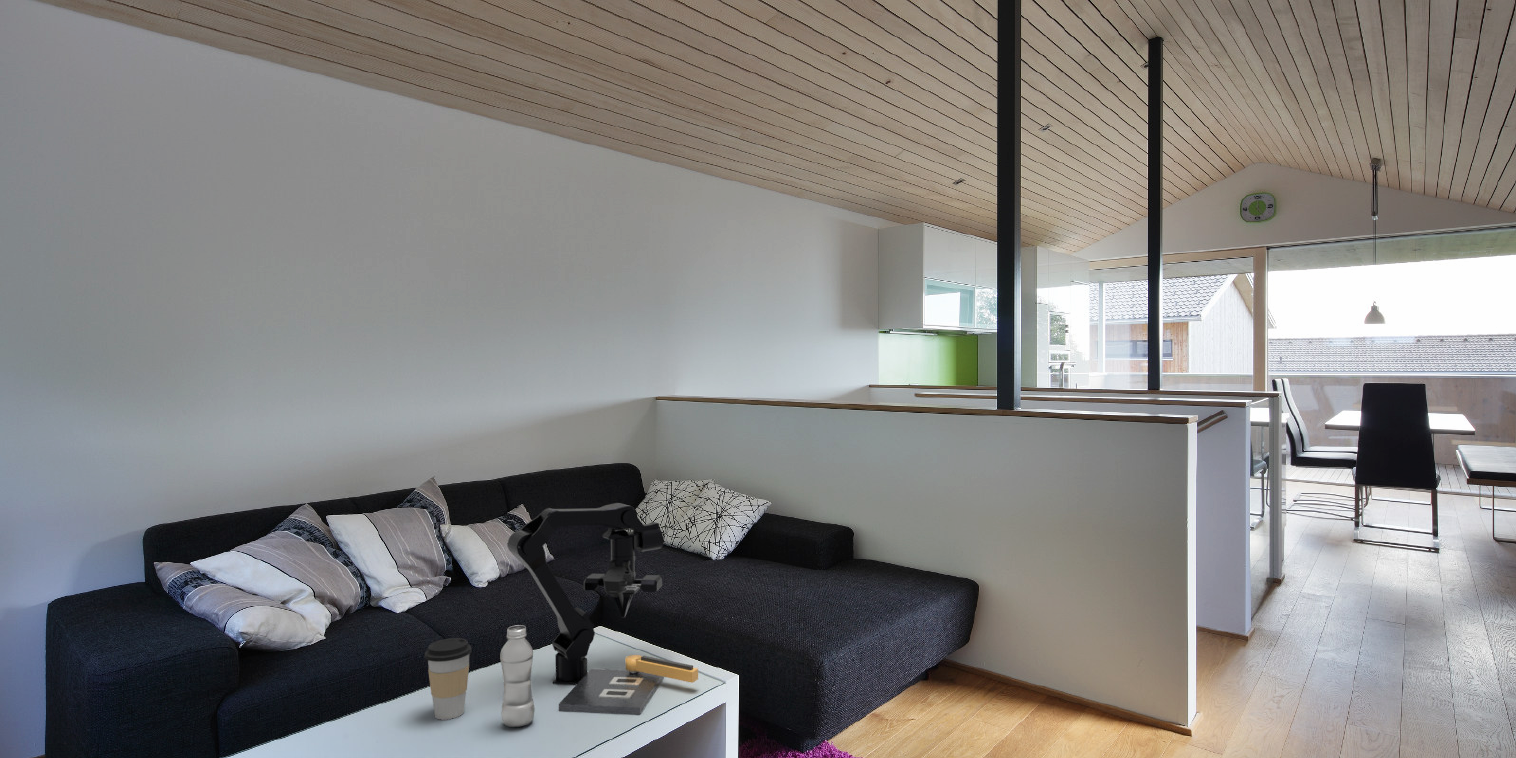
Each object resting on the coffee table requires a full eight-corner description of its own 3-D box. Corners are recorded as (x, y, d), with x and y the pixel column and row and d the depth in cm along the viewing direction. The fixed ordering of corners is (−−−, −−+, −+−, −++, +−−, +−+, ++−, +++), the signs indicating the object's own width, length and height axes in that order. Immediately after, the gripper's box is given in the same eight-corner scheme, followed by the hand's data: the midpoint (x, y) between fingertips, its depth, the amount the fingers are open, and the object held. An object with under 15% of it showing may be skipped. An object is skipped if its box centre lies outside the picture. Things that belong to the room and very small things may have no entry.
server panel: (558, 710, 165) (558, 700, 165) (591, 674, 185) (591, 665, 185) (639, 714, 163) (639, 704, 163) (664, 677, 183) (663, 668, 183)
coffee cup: (481, 707, 167) (481, 639, 167) (451, 726, 158) (450, 654, 158) (446, 702, 170) (445, 634, 170) (414, 720, 161) (414, 649, 161)
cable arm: (690, 684, 172) (690, 669, 172) (622, 669, 182) (621, 655, 182) (700, 677, 176) (700, 663, 176) (632, 663, 185) (632, 650, 185)
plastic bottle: (529, 731, 156) (528, 632, 156) (496, 731, 156) (495, 633, 156) (539, 717, 162) (537, 622, 162) (507, 717, 162) (506, 622, 162)
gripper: (574, 561, 184) (575, 626, 184) (650, 563, 182) (651, 628, 182) (591, 551, 195) (591, 612, 195) (662, 552, 193) (663, 614, 193)
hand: (623, 617), depth 191 cm, fingers closed
